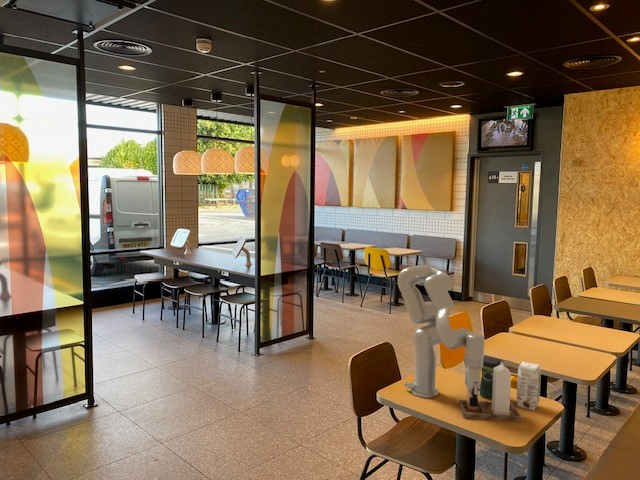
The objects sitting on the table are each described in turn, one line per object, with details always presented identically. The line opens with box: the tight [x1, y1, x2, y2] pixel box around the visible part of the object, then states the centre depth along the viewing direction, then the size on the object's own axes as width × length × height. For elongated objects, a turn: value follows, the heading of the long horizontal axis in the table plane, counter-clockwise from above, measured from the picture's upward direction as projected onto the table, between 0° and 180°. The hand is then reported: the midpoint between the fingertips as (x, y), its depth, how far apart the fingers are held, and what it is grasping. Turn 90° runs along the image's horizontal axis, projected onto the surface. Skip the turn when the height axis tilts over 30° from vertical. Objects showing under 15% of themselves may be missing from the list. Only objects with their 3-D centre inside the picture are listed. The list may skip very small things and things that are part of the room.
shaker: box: [466, 388, 480, 411], centre depth 205 cm, size 5×5×9 cm
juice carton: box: [516, 361, 542, 411], centre depth 210 cm, size 8×9×19 cm
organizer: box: [458, 399, 522, 423], centre depth 204 cm, size 23×13×2 cm, turn 82°
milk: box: [491, 362, 512, 415], centre depth 203 cm, size 6×6×22 cm
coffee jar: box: [479, 355, 504, 401], centre depth 220 cm, size 10×8×19 cm
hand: (472, 403), depth 205 cm, fingers closed on shaker, 4 cm apart
